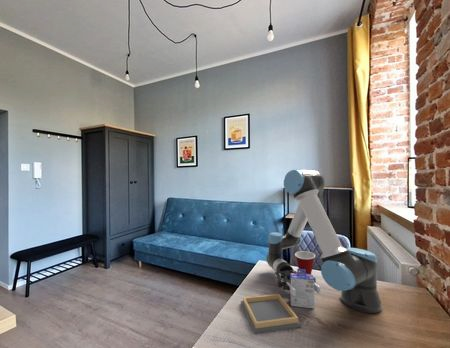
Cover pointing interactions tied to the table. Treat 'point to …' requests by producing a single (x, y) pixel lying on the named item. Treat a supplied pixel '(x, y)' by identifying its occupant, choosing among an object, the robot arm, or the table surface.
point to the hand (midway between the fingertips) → (307, 291)
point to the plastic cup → (305, 260)
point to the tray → (269, 313)
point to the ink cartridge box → (302, 289)
